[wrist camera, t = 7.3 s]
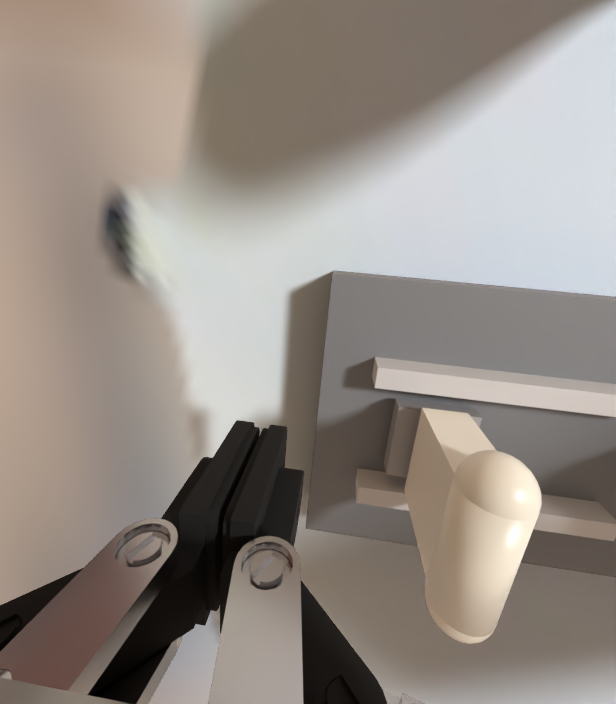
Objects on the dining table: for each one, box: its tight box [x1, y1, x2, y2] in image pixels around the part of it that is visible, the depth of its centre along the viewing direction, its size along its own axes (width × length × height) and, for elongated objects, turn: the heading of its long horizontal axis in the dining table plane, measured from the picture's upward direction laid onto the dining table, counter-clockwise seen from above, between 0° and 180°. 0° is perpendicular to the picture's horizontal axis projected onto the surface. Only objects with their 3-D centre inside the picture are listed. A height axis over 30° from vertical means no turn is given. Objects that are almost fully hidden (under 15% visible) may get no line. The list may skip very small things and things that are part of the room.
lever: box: [384, 398, 542, 644], centre depth 10 cm, size 3×5×6 cm, turn 175°
